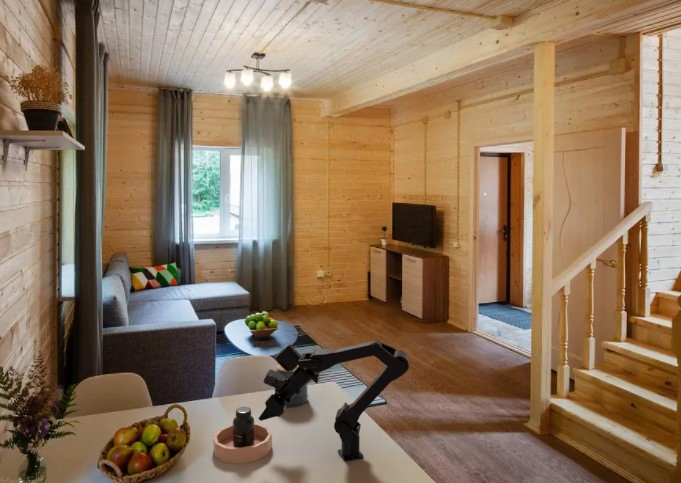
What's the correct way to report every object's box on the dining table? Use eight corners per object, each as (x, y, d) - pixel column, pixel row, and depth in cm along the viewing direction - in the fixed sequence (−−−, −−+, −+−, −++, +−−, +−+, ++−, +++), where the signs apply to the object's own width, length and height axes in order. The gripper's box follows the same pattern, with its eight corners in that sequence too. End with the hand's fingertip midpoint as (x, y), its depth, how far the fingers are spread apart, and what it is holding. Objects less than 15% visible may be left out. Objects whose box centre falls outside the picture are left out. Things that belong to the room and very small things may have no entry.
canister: (270, 397, 214) (270, 354, 212) (301, 392, 220) (300, 350, 218) (281, 409, 202) (280, 364, 201) (312, 404, 208) (312, 360, 206)
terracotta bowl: (276, 456, 167) (276, 443, 167) (218, 467, 161) (218, 453, 160) (264, 432, 184) (264, 419, 183) (211, 440, 178) (210, 427, 177)
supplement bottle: (232, 451, 169) (231, 414, 167) (233, 441, 175) (232, 406, 174) (254, 449, 170) (253, 413, 168) (254, 439, 176) (253, 404, 175)
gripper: (285, 353, 177) (253, 384, 180) (271, 373, 159) (236, 407, 161) (309, 377, 177) (277, 408, 180) (298, 399, 159) (262, 433, 161)
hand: (263, 413), depth 170 cm, fingers open, 9 cm apart
